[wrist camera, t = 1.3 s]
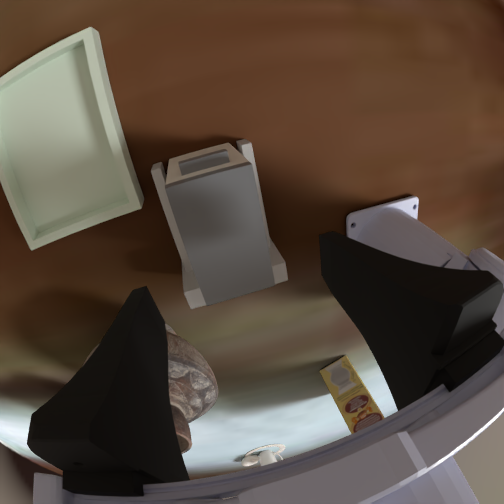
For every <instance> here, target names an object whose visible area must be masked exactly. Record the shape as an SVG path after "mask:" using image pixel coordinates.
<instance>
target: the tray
mask: <svg viewBox="0 0 504 504" xmlns="http://www.w3.org/2000/svg"><path fill="white" fill-rule="evenodd" d="M0 182H1V184H2V187H3V190H4V192H5V195H6V197H7V200H8V202H9V205H10V207H11V209H12V212H13V214H14V216H15V218H16V221H17V223H18V225H19V227H20V229H21V231H22V233H23V235H24V237H25V239H26V241H27V243H28V245H29V247H30V249H31V251H32V250H34V249H36V248H39V247H41V246H43V245H46V244H48V243H50V242H53V241H55V240H58V239H60V238H63V237H65V236H68V235H70V234H73V233H75V232H78V231H80V230H83V229H86V228H88V227H91V226H94V225H96V224H99V223H102V222H104V221H107V220H110V219H113V218H116V217H118V216H121V215H124V214H127V213H130V212H133V211H136V210H139V209H142V206H143V202H144V196H143V193H142V190H141V187H140V185H139V182H138V179H137V176H136V173H135V170H134V166H133V163H132V160H131V157H130V154H129V151H128V147H127V144H126V141H125V137H124V134H123V131H122V127H121V124H120V120H119V117H118V113H117V109H116V106H115V102H114V98H113V94H112V90H111V86H110V82H109V78H108V74H107V69H106V65H105V61H104V56H103V51H102V46H101V41H100V36H99V32H98V31H96V30H95V29H94V28H92V27H89V28H87V29H85V30H82V31H80V32H78V33H76V34H74V35H72V36H70V37H68V38H66V39H64V40H62V41H60V42H58V43H56V44H54V45H52V46H50V47H48V48H47V49H45V50H43V51H41V52H40V53H38V54H36V55H34V56H33V57H31V58H29V59H28V60H26V61H25V62H23V63H21V64H20V65H18V66H17V67H15V68H14V69H12V70H11V71H9V72H8V73H6V74H5V75H4V76H2V77H1V78H0Z"/></svg>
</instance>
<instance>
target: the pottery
mask: <svg viewBox="0 0 504 504" xmlns="http://www.w3.org/2000/svg"><path fill="white" fill-rule="evenodd" d="M165 326H166V333H167V341H168V378H169V396H170V403H171V409H172V415H173V420H174V425H175V430H176V434H177V439H178V442H179V446H180V450H181V454H183V453H185V452H187V451H188V450H189V449H190V448H191V446H192V442H191V433H190V428H189V425H188V423H190V422H192V421H194V420H195V419H197V418H199V417H201V416H202V415H204V414H205V413H206V412H207V411H209V410H210V409H211V408H212V406H213V405H214V404H215V402H216V400H217V397H218V385H217V382H216V379H215V376H214V374H213V372H212V370H211V368H210V366H209V365H208V363H207V362H206V360H205V359H204V358H203V356H202V355H201V354H200V353H199V351H197V350H196V349H195V348H194V347H193V346H192V345H191V344H190V343H188V342H187V341H186V340H184V339H183V338H181V337H180V336H178V335H176V333H175V331H174V330H173V329H172V328H171V327H170V326H169V325H167V324H166V323H165ZM99 344H100V343H99ZM99 344H98V345H99ZM98 345H97V346H96V347H95V348H94V349H93V350H92V352H91V353H90V354H89V356H88V357H87V359H86V360H85V362H84V363H83V365H84V364H85V363H86V362H87V360H88V359H89V358H90V356H91V355H92V354H93V352H94V351H95V350H96V348H97V347H98Z"/></svg>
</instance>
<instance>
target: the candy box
mask: <svg viewBox="0 0 504 504" xmlns="http://www.w3.org/2000/svg"><path fill="white" fill-rule="evenodd" d="M320 374H321V376H322V378H323V380H324V381H325V383H326V385H327V387H328V389H329V391H330V393H331V395H332V397H333V399H334V401H335V403H336V405H337V407H338V409H339V410H340V412H341V414H342V416H343V418H344V420H345V422H346V424H347V426H348V428H349V430H350V432H351V434H353V433H355V432H358V431H360V430H362V429H364V428H366V427H368V426H370V425H372V424H374V423H377V422H379V421H380V420H382V419H384V416H383V414H382V413H381V411H380V409H379V408H378V406H377V404H376V403H375V401H374V400H373V398H372V396H371V395H370V393H369V391H368V390H367V388H366V386H365V385H364V383H363V382H362V380H361V378H360V377H359V375H358V374H357V372H356V370H355V369H354V367H353V366H352V364H351V363H350V361H349V359H348V358H347V356H346V355H345V356H343V357H342V358H340V359H339V360H337V361H335V362H334V363H332V364H330V365H329V366H327V367H325V368H324V369H322V370H320Z"/></svg>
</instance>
